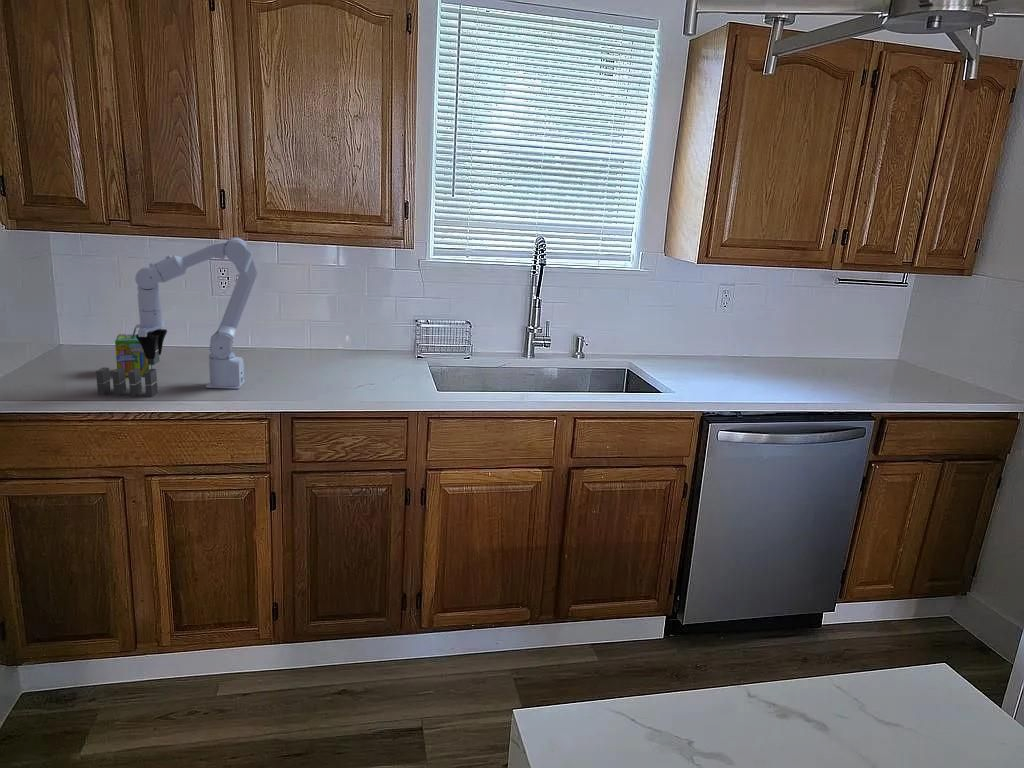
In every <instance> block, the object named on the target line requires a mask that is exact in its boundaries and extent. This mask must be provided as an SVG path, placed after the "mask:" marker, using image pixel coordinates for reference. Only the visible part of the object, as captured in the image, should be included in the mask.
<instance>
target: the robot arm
mask: <svg viewBox="0 0 1024 768" xmlns="http://www.w3.org/2000/svg"><path fill="white" fill-rule="evenodd" d="M225 256H226V258H227V259H228V260H229V261H230V262H231V263H232V264H233V265H234V266H235V269H237V272H238V273H239V275H238V277H237V280H236V282H235V285H234V286H233V287H234V288H233V291H232V292H231V293H232V294H231V296H230V299H229V300H228V303H227V306H226V308H225V311H224V314H223V317H222V320H221V322H220V324H219V326H218V328H217V330H216V331H215V332H214V333H213V334H212V336H210V340H209V341H210V342H209V352H210V353H209V354H208V366H209V367H208V368H209V383H207V384H206V386H205V388H207V389H233V390H234V389H235V390H237V389H240V388H241V387H242V386H243V384H245V382H246V381H245V363H244V358H243V357H241V356H236V353H235V352H233V349H234V347H233V344H234V342H233V340H234V339H235V335H236V330H237V328H238V325H239V323H240V321H241V317H242V314H243V312H244V310H245V307H246V306H247V302H248V300H249V296H250V294H251V291H252V289H253V286H254V284H255V281H256V279H257V277H258V276H257V275H258V271H257V267H256V264H255V261H254V257H253V252H252V250H251V248H250V247H249V245H248V243H247V242H246V241H245V240H244V239H243V238H240V237H235V236H234V237H231V238H229V239H228V240H227V239H225V240H221V241H220V240H219V241H218V242H214V243H212V244H209V245H207V246H205V247H203V248H202V247H201V248H200V249H199V250H196V251H193V252H191V253H189V254H187V255H184V256H183V257H181V256H178V255H171V254H168V255H166V256H165V258H164V259H162V260H160V261H158V262H155V263H154V262H150V263H148V266H143V267H141V268H140V269H139V270H138V271H137V272H136V274H135V283H136V285H137V303H138V314H139V315H138V316H139V317H138V318H139V323H137V324H136V325H135V327H136V329H137V333H136V334H137V335H136V338H137V339H138V341H139V342H140V344H141V346H142V348H143V351H144V354H145V356H146V359H154V358H155V353H156V343H157V340H158V347H159V356H161V354H162V352H163V351H162V350H163V345H164V340H165V338H166V335H167V333H168V330H167V329H163V328H165V321H164V320H163V316H162V304H161V294H160V289H159V288H160V285H159V283H166V282H169V281H172V280H174V279H176V278H179V277H181V276H183V275H185V274H186V272H187V269H188V268H190V267H193V266H195V265H199V264H200V263H203V262H205V261H208V260H212V259H214V258H215V259H220V260H225Z"/></svg>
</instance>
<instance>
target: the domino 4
mask: <svg viewBox="0 0 1024 768" xmlns="http://www.w3.org/2000/svg"><path fill="white" fill-rule="evenodd" d="M160 361H161V360H160V355H159V347H158V340H157V343H156V353H155V358H154V359H148V365H152V366H155V365H157V364H158V363H159V362H160Z"/></svg>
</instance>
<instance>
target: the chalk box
mask: <svg viewBox="0 0 1024 768" xmlns="http://www.w3.org/2000/svg"><path fill="white" fill-rule="evenodd" d="M136 331H137V328H136V326H135V327H134V329H133V333H132V334H131V333H119V334H117V336H116V339H115V341H114V342H115V345H114V346H115V356H116V357H115V359H116V369H118V368H125V377H129V375H128V372H130V371H131V370H133V369H134V368H137V369H141V377H145V374H144V373H145V372H146V371H148V370H149V369H153V365H148V359H146V356H145V354H144V351H143V348H142V346H141V344H140V342H139V341H138V339H137V338H136V335H137V334H138V333H136Z"/></svg>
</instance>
